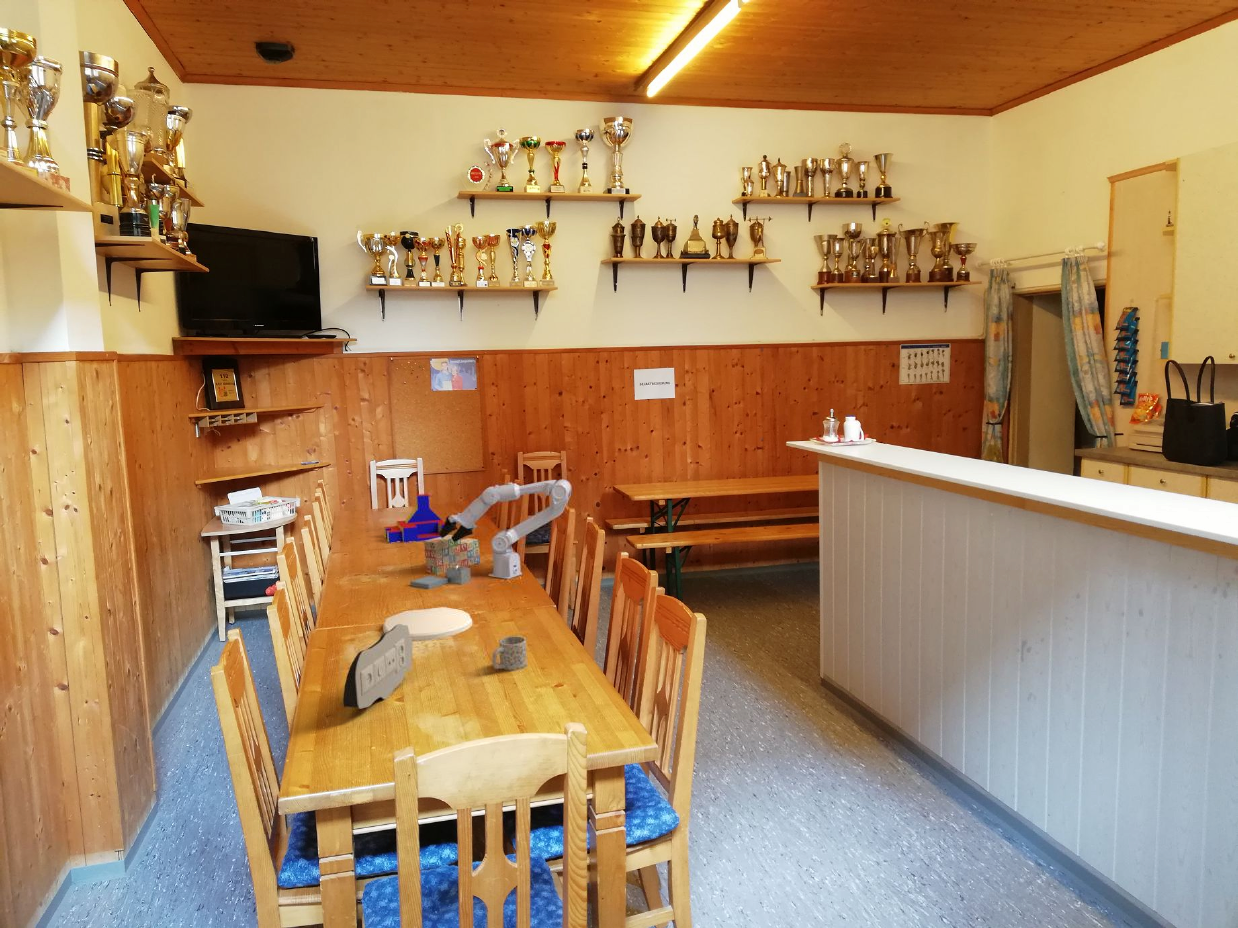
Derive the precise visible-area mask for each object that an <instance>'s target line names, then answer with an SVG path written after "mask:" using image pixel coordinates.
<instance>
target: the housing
mask: <svg viewBox="0 0 1238 928" xmlns="http://www.w3.org/2000/svg"><path fill="white" fill-rule="evenodd" d="M446 579H448V583H449V584H455V585H461V586H462V585H465V584H469V583H471V582H472V577H471V568H470V567H468V566H467V567H465V566H463V567H459V565H453V566H452V567H450V568H447V577H446ZM468 582H469V583H468Z"/></svg>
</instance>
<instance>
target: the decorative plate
mask: <svg viewBox="0 0 1238 928" xmlns="http://www.w3.org/2000/svg"><path fill="white" fill-rule="evenodd" d="M398 624H402V625H407V626H408V629H409V634H410V637H411V639H412V642H417V641H419V642H420V641H433V640H432V639H435V640H438V639H443V638H448V637H451V635H452V636H456V635H457V634H461V633H462V632H465V631H467V630H469V629H470V628H471V627H472V626H473V620H472V618H471V616H470V614H469V613H468V612H466V611H464V610H461V609H456V608H450V607H445V606H441V607H433V608H425V609H413V610H405V611H403V612H399V613H398V614H395V615H392V616H389V617H387V618H386V619H385V621H384V623H383V625H382V630H383V634H384V633H387V632H388V631H390V630H391V629H393V628H394V627H395V626H396V625H398Z"/></svg>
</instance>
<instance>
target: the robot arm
mask: <svg viewBox="0 0 1238 928" xmlns="http://www.w3.org/2000/svg"><path fill="white" fill-rule="evenodd" d="M539 493H543V494H545V495H547V496H550V498H551V500H550V504H549V506H547V507H546V508H544V509H542V510H541V511H538V513H536V514H534V515H532V516H530V517H529V518H527V519H525V520H524V521H521V522H520V523H518V524H517V525H515V526H513V527H511V528H509V529H504V530H500V531H499V532H498V533H497V534H496V535H495V536H493V538H491V542H490V545H491V546H490V547H491V549H492V569H493V572H491V573H489V574H488V575H487V576H488V577H491V578H492V577H493V578H498V579H499V578H500V579H505V580H509V579H513V578H515V577H518V576H520V575H523V573H522V571H521V558H520V555H519V553H517V552H515V551H514V550H513V547H512V544H514V543H516V542H517V541H518V540H520V539H521V538H523V537H525V536H527V535H528V534H530V533H532V532H534V531H535V530H537V529H538V528H540V527H542V526H544V525H546V524H547V523H549V522H550V521H551V522H552V521H553V520H554V519H556V518H558V517H559V516H561V515H562V514H563V512H564V510H565V508H566V506H567V504H568V502H569V499H570V498H571V495H572V484H571V483H570V481H568V480H566V479H563V478H562V479H559V480H557V479H549V480H544V481H538V482H533V483H528V484H524V485H519V484H517V483H513V482H508V483H507V484H503V485H499V484H495V486H489V487H487V488H486V489H485V490H484V491H482V493H481V494H480V495H479V496H478V498H476V499H474V501H471V503H470V504H469V505H467V507H466V508H465V509H464V510H463V511H462V512H461V513H460V512H458V513H457V514H455V515H454V514H451V515H450V516H446V518H445V521H444V522H445V524H444V526H443V528H442V530H441V531H440V533H439V535H440V536H441V538H444V537H445V536H447V535H450V533H452V532H454V533H453V534H452V535H453V536H452V537H451V538H452V540H453V541H454V542H456V541H458V540H459V539H461V540H462V539H464V538H465V537H467V536H470V535H471V536H472V535H473V534H474V532H473V531H474V530H476V528H478V526H477V524H476V522H477V521H478V520H479V519H480V518H481V517H482V516H483V515H484V514H486V512H487V511H488V510H489V508H491V506H493V505H495V504H497V502H499V503H500V502H501V503H502V502H509V501H514V500H518V499H520V497H521V496H523V495H530V494H539ZM457 524H458V525H459V527H457Z"/></svg>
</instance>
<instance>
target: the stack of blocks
mask: <svg viewBox="0 0 1238 928" xmlns="http://www.w3.org/2000/svg"><path fill="white" fill-rule="evenodd" d="M453 535H454V534H448V535H447V536H445V537H444V538H441V537H438V538H434V539H430V540H425V541H424V557H425V559H424V560H425V570H426V571H425V572H426V574H431V573H433V575H442V574H446V572H447V568H450V567H452V566H453V565H459V567H463V566H465V567H467V568H468V567H470V566H473V565H477V563H478V564H480V563H481V557H480V554H481V553H480V543H479V542H480V541H479V539H475V538H470V537H469V538H461V539H459V540H458V541H456V542H454V541H453V540H452V538H451V537H452V536H453ZM469 565H470V566H469Z"/></svg>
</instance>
